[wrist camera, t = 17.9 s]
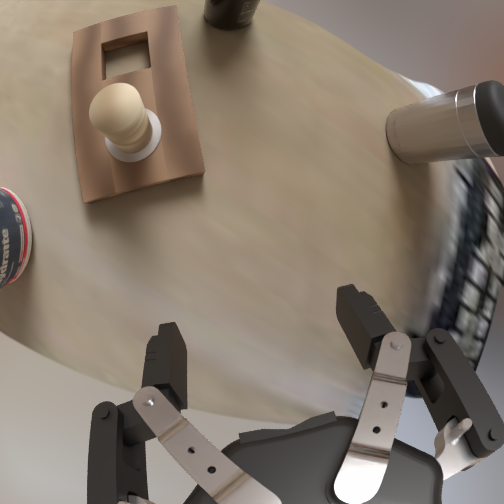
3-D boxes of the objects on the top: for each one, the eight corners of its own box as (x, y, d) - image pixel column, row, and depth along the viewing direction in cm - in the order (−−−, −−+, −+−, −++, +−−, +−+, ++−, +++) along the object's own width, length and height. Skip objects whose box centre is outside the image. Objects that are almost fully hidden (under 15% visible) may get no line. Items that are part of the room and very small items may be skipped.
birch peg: (149, 111, 27) (138, 76, 18) (155, 147, 28) (144, 123, 19) (112, 121, 26) (87, 92, 17) (117, 158, 27) (91, 139, 18)
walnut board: (176, 15, 27) (176, 4, 24) (203, 174, 32) (205, 171, 29) (78, 40, 24) (73, 31, 22) (90, 203, 29) (83, 202, 27)
